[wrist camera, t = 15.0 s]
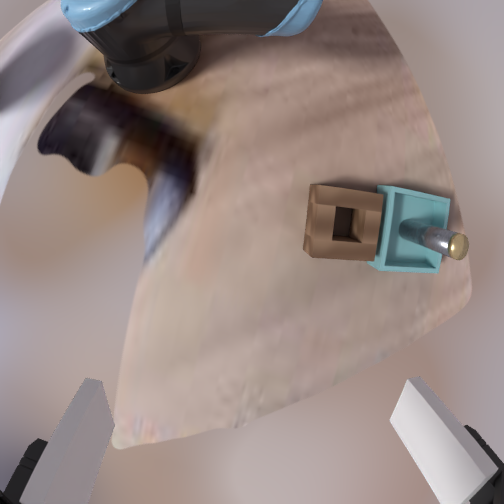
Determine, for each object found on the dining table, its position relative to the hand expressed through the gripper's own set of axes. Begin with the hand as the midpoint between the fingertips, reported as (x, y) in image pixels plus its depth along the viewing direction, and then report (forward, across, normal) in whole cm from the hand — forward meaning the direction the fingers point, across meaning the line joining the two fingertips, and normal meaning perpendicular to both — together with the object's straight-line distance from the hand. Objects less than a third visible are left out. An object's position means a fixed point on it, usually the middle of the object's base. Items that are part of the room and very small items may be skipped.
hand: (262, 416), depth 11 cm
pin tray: (+34, +28, +4) cm, 45 cm away
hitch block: (+34, +15, +4) cm, 38 cm away
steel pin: (+34, +28, +4) cm, 44 cm away
